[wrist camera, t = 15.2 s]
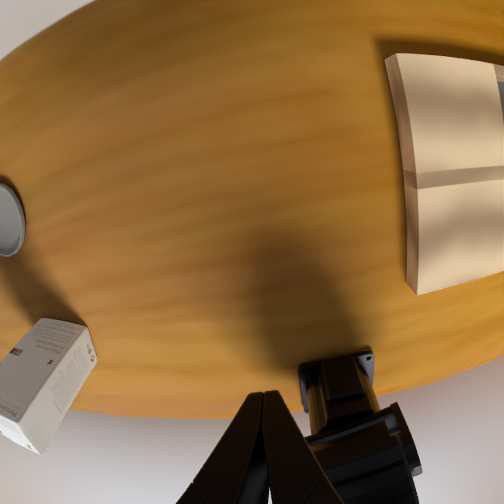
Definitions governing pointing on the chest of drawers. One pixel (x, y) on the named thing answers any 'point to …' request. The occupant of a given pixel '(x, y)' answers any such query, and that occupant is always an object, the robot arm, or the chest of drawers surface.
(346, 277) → the chest of drawers surface
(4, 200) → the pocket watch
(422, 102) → the board
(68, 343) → the skincare box
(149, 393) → the chest of drawers surface
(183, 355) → the chest of drawers surface
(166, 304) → the chest of drawers surface
